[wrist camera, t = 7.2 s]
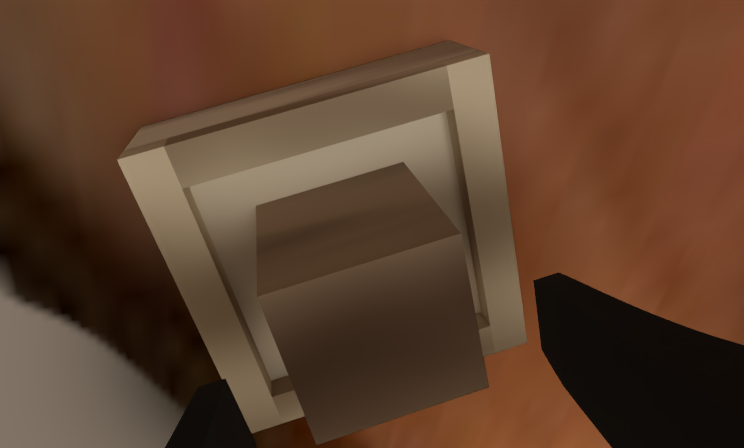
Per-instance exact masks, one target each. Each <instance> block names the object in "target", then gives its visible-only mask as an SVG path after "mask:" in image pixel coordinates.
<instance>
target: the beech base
mask: <svg viewBox="0 0 744 448" xmlns="http://www.w3.org/2000/svg"><path fill="white" fill-rule="evenodd" d="M117 161H118V163H119V165H120V167H121V169H122V171H123V174H124V176H125V178H126V180H127V182H128V184H129V186H130V188H131V190H132V192H133V194H134V197H135V199H136V201H137V203H138V205H139V207H140V209H141V211H142V213H143V215H144V217H145V220H146V222H147V224H148V226H149V228H150V230H151V232H152V234H153V236H154V238H155V240H156V243H157V245H158V247H159V249H160V251H161V253H162V255H163V257H164V259H165V261H166V263H167V266H168V268H169V270H170V272H171V274H172V276H173V278H174V280H175V282H176V284H177V286H178V289H179V291H180V293H181V295H182V297H183V299H184V301H185V303H186V305H187V307H188V309H189V312H190V314H191V316H192V318H193V320H194V322H195V324H196V326H197V328H198V330H199V332H200V335H201V337H202V339H203V341H204V343H205V345H206V347H207V349H208V351H209V353H210V355H211V358H212V360H213V362H214V364H215V366H216V368H217V370H218V372H219V374H220V376H221V378H222V379H225V378H226V381H227V383H228V385H229V387H230V389H231V391H232V393H233V395H234V397H235V400H236V402H237V404H238V406H239V408H240V410H241V412H242V414H243V416H244V419H245V421H246V423H247V425H248V427H249V429H250V431H251V433H255V432H258V431H261V430H264V429H267V428H270V427H273V426H276V425H279V424H282V423H285V422H288V421H291V420H294V419H297V418H300V417H303V416H305V415H304V412H303V410H302V408H301V405H300V403H299V400H298V398H297V395H296V393H295V390H294V388H293V385H292V383H291V380H290V378H289V375H288V373H287V370H286V368H285V365H284V363H283V360H282V358H281V355H280V353H279V350H278V348H277V345H276V343H275V340H274V338H273V335H272V333H271V331H270V328H269V326H268V323H267V321H266V318H265V316H264V313H263V311H262V308H261V306H260V303H259V301H258V298H257V256H256V206H257V205H260V204H263V203H267V202H270V201H273V200H277V199H280V198H284V197H287V196H290V195H294V194H297V193H300V192H304V191H307V190H310V189H314V188H317V187H320V186H324V185H327V184H330V183H334V182H337V181H341V180H344V179H347V178H351V177H354V176H357V175H361V174H364V173H367V172H371V171H374V170H377V169H381V168H384V167H388V166H391V165H394V164H398V163H401V162H404V163H405V165H406V166H407V167H408V168H409V169H410V171H411V172H412V173H413V174H414V176H415V177H416V178H417V179H418V181H419V182H420V183H421V184H422V186H423V187H424V188H425V189H426V191H427V192H428V193H429V194H430V196H431V197H432V198H433V199H434V200H435V202H436V203H437V204H438V205H439V207H440V208H441V209H442V210H443V212H444V213H445V214H446V215H447V217H448V218H449V219H450V220H451V222H452V223H453V224H454V225H455V226H456V228H457V229H458V230H459V231H460V233H461V236H462V241H463V247H464V252H465V258H466V263H467V269H468V274H469V280H470V285H471V291H472V296H473V302H474V307H475V313H476V318H477V324H478V329H479V335H480V340H481V346H482V351H483V357H485V356H488V355H491V354H494V353H497V352H500V351H503V350H506V349H509V348H512V347H515V346H518V345H521V344H524V343H527V337H526V329H525V321H524V314H523V306H522V298H521V291H520V283H519V276H518V268H517V260H516V253H515V245H514V238H513V230H512V222H511V215H510V207H509V200H508V192H507V184H506V177H505V169H504V162H503V154H502V146H501V139H500V131H499V123H498V116H497V108H496V101H495V93H494V85H493V78H492V70H491V63H490V55H489V53H486V52H483V51H480V50H477V49H474V48H471V47H468V46H465V45H462V44H459V43H456V42H453V41H450V40H449V41H445V42H442V43H438V44H435V45H431V46H427V47H424V48H420V49H417V50H413V51H410V52H406V53H403V54H399V55H396V56H392V57H388V58H385V59H381V60H378V61H374V62H371V63H367V64H364V65H360V66H357V67H353V68H349V69H346V70H342V71H339V72H335V73H332V74H328V75H325V76H321V77H317V78H314V79H310V80H307V81H303V82H300V83H296V84H293V85H289V86H286V87H282V88H278V89H275V90H271V91H268V92H264V93H261V94H257V95H254V96H250V97H247V98H243V99H239V100H236V101H232V102H229V103H225V104H222V105H218V106H215V107H211V108H207V109H204V110H200V111H197V112H193V113H190V114H186V115H183V116H179V117H176V118H172V119H168V120H165V121H161V122H158V123H154V124H151V125H147V126H144V127H141V128H140V129H139V131H138V132H137V133H136V135H135V136H134V138H133V139H132V140H131V142H130V143H129V144H128V146H127V147H126V148H125V150H124V151H123V152H122V154H121V155H120V156H119V158H118V159H117Z"/></svg>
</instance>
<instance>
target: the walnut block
mask: <svg viewBox="0 0 744 448" xmlns="http://www.w3.org/2000/svg"><path fill="white" fill-rule="evenodd" d="M256 256H257V298H258V301H259V303H260V306H261V308H262V311H263V313H264V316H265V318H266V321H267V323H268V326H269V328H270V331H271V333H272V335H273V338H274V340H275V343H276V345H277V348H278V350H279V353H280V355H281V358H282V360H283V363H284V365H285V368H286V370H287V373H288V375H289V378H290V380H291V383H292V385H293V388H294V390H295V393H296V395H297V398H298V400H299V403H300V405H301V408H302V410H303V412H304V415H305V417H306V420H307V422H308V425H309V427H310V430H311V432H312V435H313V437H314V440H315V442H316V445H318V444H321V443H324V442H327V441H330V440H333V439H336V438H339V437H342V436H345V435H348V434H351V433H354V432H357V431H360V430H363V429H366V428H369V427H372V426H375V425H378V424H381V423H384V422H387V421H390V420H392V419H395V418H398V417H401V416H404V415H407V414H410V413H413V412H416V411H419V410H422V409H425V408H428V407H431V406H434V405H437V404H440V403H443V402H446V401H449V400H452V399H455V398H458V397H461V396H464V395H467V394H470V393H473V392H476V391H479V390H482V389H485V388H488V387H489V384H488V379H487V373H486V368H485V362H484V357H483V351H482V346H481V340H480V335H479V329H478V324H477V318H476V313H475V307H474V302H473V296H472V291H471V285H470V280H469V274H468V269H467V263H466V258H465V252H464V247H463V241H462V236H461V233H460V231H459V230H458V229H457V228H456V226H455V225H454V224H453V223H452V222H451V220H450V219H449V218H448V217H447V215H446V214H445V213H444V212H443V210H442V209H441V208H440V207H439V205H438V204H437V203H436V202H435V200H434V199H433V198H432V197H431V196H430V194H429V193H428V192H427V191H426V189H425V188H424V187H423V186H422V184H421V183H420V182H419V181H418V179H417V178H416V177H415V176H414V174H413V173H412V172H411V171H410V169H409V168H408V167H407V166H406V165H405V163H404V162H401V163H398V164H394V165H391V166H388V167H384V168H381V169H377V170H374V171H371V172H367V173H364V174H361V175H357V176H354V177H351V178H347V179H344V180H341V181H337V182H334V183H330V184H327V185H324V186H320V187H317V188H314V189H310V190H307V191H304V192H300V193H297V194H294V195H290V196H287V197H284V198H280V199H277V200H273V201H270V202H267V203H263V204H260V205H257V206H256Z"/></svg>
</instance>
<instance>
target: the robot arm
mask: <svg viewBox="0 0 744 448" xmlns="http://www.w3.org/2000/svg"><path fill="white" fill-rule="evenodd" d="M534 288H535V296H536V305H537V313H538V322H539V330H540V339H541V347H542V351H543V352H544V354H545V356H546V358H547V359H548V361H549V363H550V364H551V366H552V368H553V370H554V371H555V373H556V374H557V376H558V378H559V379H560V381H561V382H562V384H563V386H564V387H565V388H566V390H567V391H568V392H569V394H570V395H571V396H572V398H573V399H574V400H575V401H576V403H577V404H578V405H579V406H580V408H581V409H582V410H583V412H584V413H585V414H586V415H587V417H588V418H589V419H590V420H591V422H592V423H593V424H594V425H595V427H596V428H597V429H598V430H599V432H600V433H601V434H602V436H603V437H604V438H605V439H606V441H607V442H608V443H609V444H610V446H611V447H612V448H744V345H741V344H737V343H734V342H731V341H727V340H724V339H721V338H717V337H714V336H711V335H708V334H705V333H702V332H699V331H696V330H693V329H690V328H688V327H685V326H682V325H680V324H677V323H674V322H672V321H669V320H666V319H664V318H661V317H659V316H656V315H654V314H651V313H649V312H646V311H644V310H641V309H639V308H637V307H634V306H632V305H630V304H627V303H625V302H623V301H621V300H618V299H616V298H614V297H612V296H609V295H607V294H605V293H603V292H601V291H598V290H596V289H594V288H592V287H590V286H588V285H585V284H583V283H581V282H579V281H577V280H575V279H572V278H570V277H568V276H566V275H563V274H561V273H556V274H553V275H550V276H546V277H543V278H540V279H537V280H534ZM165 448H257V447H256V442H255V440H254V438H253V436H252V433H251V431H250V429H249V427H248V425H247V423H246V421H245V419H244V416H243V414H242V412H241V410H240V408H239V406H238V404H237V402H236V400H235V397H234V395H233V393H232V391H231V389H230V387H229V385H228V383H227V381H226V378H225V379H222V380H219V381H216V382H213V383H209V384H206V385H203V386H200V387H198V389H197V390H196V392H195V394H194V396H193V397H192V399H191V401H190V403H189V405H188V406H187V408H186V410H185V412H184V414H183V416H182V418H181V419H180V421H179V423H178V425H177V427H176V429H175V431H174V432H173V434H172V436H171V438H170V440H169V441H168V443H167V445H166V447H165Z"/></svg>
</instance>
